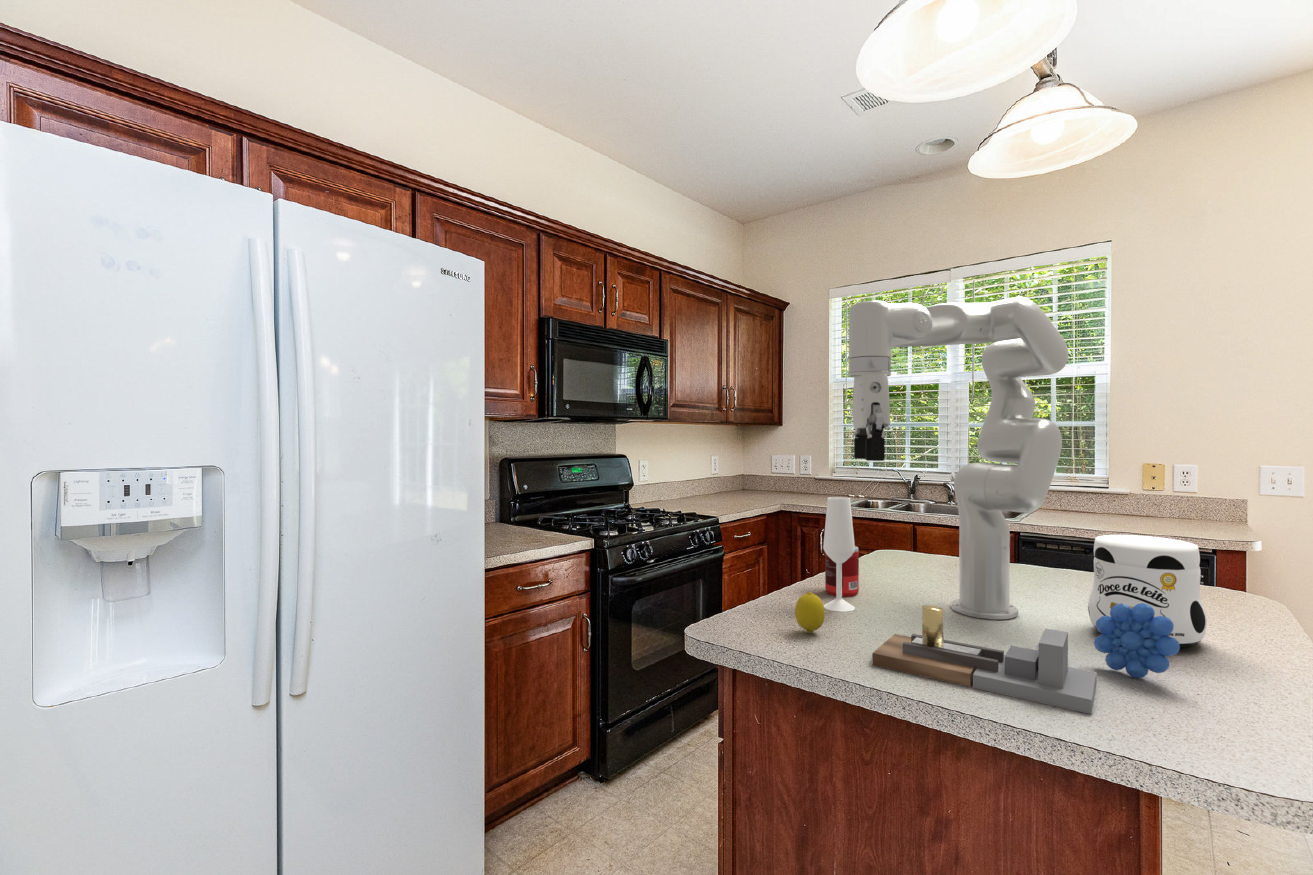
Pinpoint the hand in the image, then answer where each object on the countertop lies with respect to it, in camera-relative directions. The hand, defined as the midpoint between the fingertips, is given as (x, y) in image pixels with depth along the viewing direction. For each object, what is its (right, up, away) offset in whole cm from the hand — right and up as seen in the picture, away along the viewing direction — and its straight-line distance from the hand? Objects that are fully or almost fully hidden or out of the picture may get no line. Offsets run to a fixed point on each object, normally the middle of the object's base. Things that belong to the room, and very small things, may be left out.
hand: (868, 459), depth 118 cm
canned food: (+4, -33, +32) cm, 46 cm away
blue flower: (+36, -34, -19) cm, 53 cm away
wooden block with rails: (+7, -34, -14) cm, 37 cm away
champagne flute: (0, -33, +20) cm, 39 cm away
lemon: (-10, -34, +3) cm, 35 cm away
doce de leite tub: (+51, -33, -2) cm, 61 cm away
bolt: (+8, -32, -15) cm, 36 cm away
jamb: (+18, -34, -23) cm, 44 cm away
